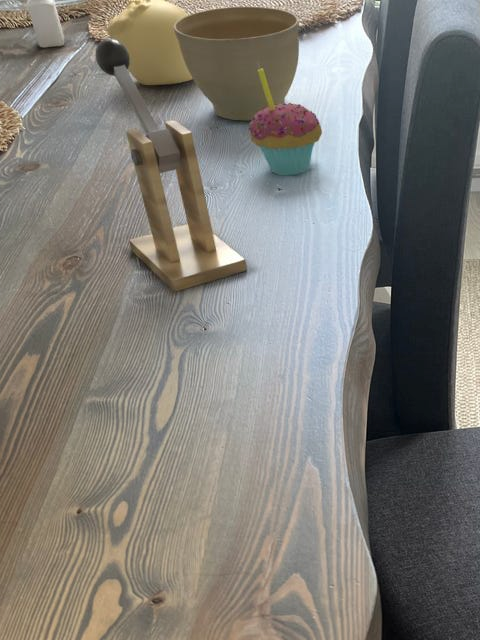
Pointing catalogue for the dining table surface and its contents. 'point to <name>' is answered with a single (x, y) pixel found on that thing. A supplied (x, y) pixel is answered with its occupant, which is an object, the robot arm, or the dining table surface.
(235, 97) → the planter bowl
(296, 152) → the cupcake
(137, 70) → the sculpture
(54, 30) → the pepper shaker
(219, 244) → the wooden lever stand
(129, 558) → the dining table surface
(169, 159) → the knife lever
